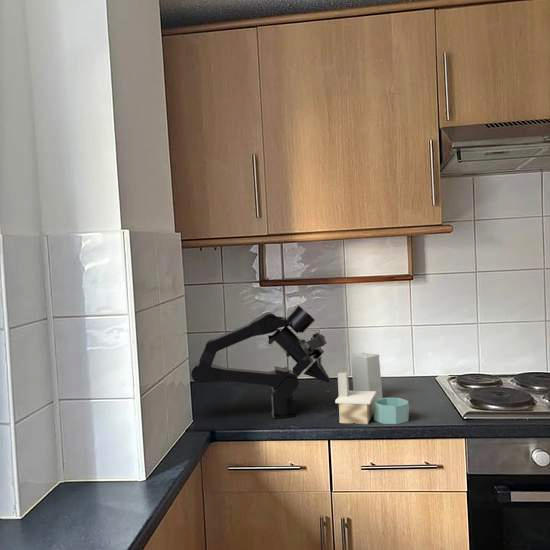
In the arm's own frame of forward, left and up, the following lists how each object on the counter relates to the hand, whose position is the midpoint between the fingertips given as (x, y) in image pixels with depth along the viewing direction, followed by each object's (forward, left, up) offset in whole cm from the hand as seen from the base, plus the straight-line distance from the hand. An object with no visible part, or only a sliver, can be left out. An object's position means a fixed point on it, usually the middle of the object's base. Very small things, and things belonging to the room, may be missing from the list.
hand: (329, 381), depth 176 cm
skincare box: (+17, +16, -11) cm, 25 cm away
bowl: (+16, -8, -11) cm, 21 cm away
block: (+7, -4, -11) cm, 13 cm away
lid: (+7, -4, -5) cm, 9 cm away
